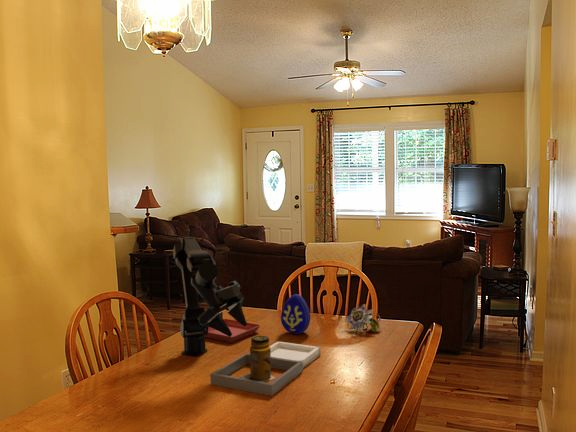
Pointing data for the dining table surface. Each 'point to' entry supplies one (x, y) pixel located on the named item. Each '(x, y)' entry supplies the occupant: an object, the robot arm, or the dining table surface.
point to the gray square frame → (270, 389)
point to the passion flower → (362, 319)
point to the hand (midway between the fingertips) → (238, 330)
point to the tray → (295, 352)
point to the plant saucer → (233, 331)
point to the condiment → (260, 360)
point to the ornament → (295, 315)
